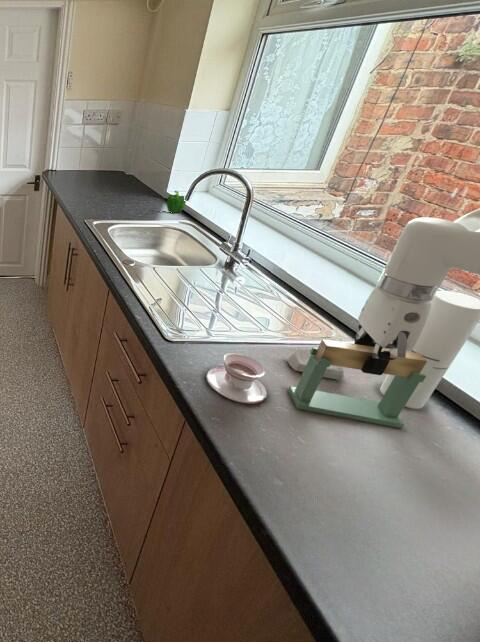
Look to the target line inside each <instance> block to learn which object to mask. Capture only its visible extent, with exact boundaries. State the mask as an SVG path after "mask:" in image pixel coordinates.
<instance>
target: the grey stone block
mask: <svg viewBox="0 0 480 642" xmlns="http://www.w3.org/2000/svg"><path fill="white" fill-rule="evenodd" d="M311 350H312V348H311V349H310V348H303V347H297V348H296V349H295V350H294V351H293V352H292V353H291V354H290V356H289V358H288V359H287V363H288V364H289V366H290V367H291V368H292V370H294V371H297V372H301V373H303V372H304V369H305V367H306V365H307V363H308V361H309V358H310V356H311V354H310V352H311ZM314 356H315V355H314ZM343 377H345V373H344V367H340V366H334V365H330V367H327V368H326V370H325V372H324V375H323V377H322V378H327V379H332V380H337V381H340V380H342V379H343Z"/></svg>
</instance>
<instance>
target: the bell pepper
mask: <svg viewBox="0 0 480 642" xmlns="http://www.w3.org/2000/svg"><path fill="white" fill-rule="evenodd" d="M184 197H185V198H186V196H185V195H180V193H179V191H178V190H174V194H169V195H168V197H167V200H166V209H167V211H168V212H169V213H172V214H177V213H181V212H182V211H183V209H184V207H185V205H186V203H187V200H186V201H184Z"/></svg>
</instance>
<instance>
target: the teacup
mask: <svg viewBox="0 0 480 642" xmlns="http://www.w3.org/2000/svg"><path fill="white" fill-rule="evenodd" d="M222 360H223V365H224V366H216V367H212V368H211V369H209V370H208V371H207V373H206V376H205V378H206V382H207V383H208V385H209V386H210V387H211V389H213V390H214V391H215V392H217V393H218V394H219V395H221V396H222V397H224V398H227V399H229V400H231V401H234V402H237V403H241V404H250V405H251V404H252V405H253V404H258V403H262V402H263V401H264V400H265V399H266V398H267V392H268V391H267V389H266V386H264V384H263V383H262V381H260V380H259V378H262V377H264V376H265V374H266V370H265V368H264V366H263V365H262V364H261V363H260V362H258V361H257V360H256V359H254V358H252V357H250V356H248V355H246V354H242V353H238V352H228V353H225V354H224V355H223V359H222Z"/></svg>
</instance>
